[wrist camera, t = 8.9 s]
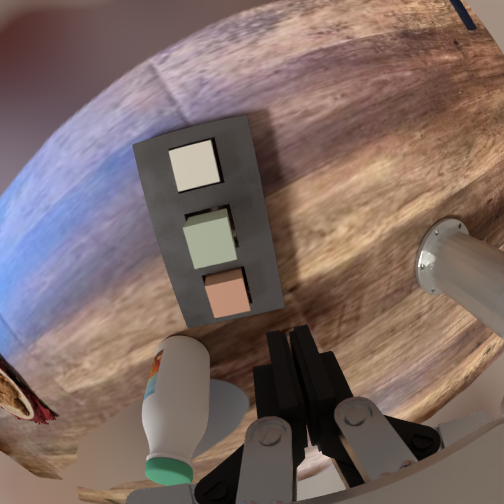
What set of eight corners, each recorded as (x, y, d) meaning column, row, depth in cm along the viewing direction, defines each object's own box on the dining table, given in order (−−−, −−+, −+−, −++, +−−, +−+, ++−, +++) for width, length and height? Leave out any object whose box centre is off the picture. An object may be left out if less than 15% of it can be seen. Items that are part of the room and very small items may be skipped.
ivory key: (212, 142, 28) (210, 140, 24) (220, 178, 29) (219, 181, 25) (176, 152, 28) (168, 151, 24) (184, 187, 29) (178, 191, 25)
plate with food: (-18, 325, 33) (-27, 334, 30) (58, 415, 41) (52, 426, 38) (-38, 351, 35) (-45, 358, 32) (21, 422, 43) (17, 430, 40)
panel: (244, 118, 28) (246, 114, 25) (280, 297, 35) (284, 307, 33) (139, 145, 27) (132, 144, 25) (189, 317, 35) (187, 328, 32)
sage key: (226, 208, 28) (227, 217, 24) (235, 244, 29) (237, 259, 25) (188, 217, 28) (182, 227, 24) (198, 253, 29) (194, 269, 25)
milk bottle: (180, 323, 35) (156, 455, 16) (221, 355, 37) (226, 482, 19) (146, 352, 36) (114, 471, 17) (186, 380, 38) (177, 496, 20)
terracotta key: (239, 262, 33) (242, 278, 28) (247, 292, 34) (250, 310, 30) (206, 270, 33) (204, 286, 28) (215, 299, 34) (214, 318, 30)
